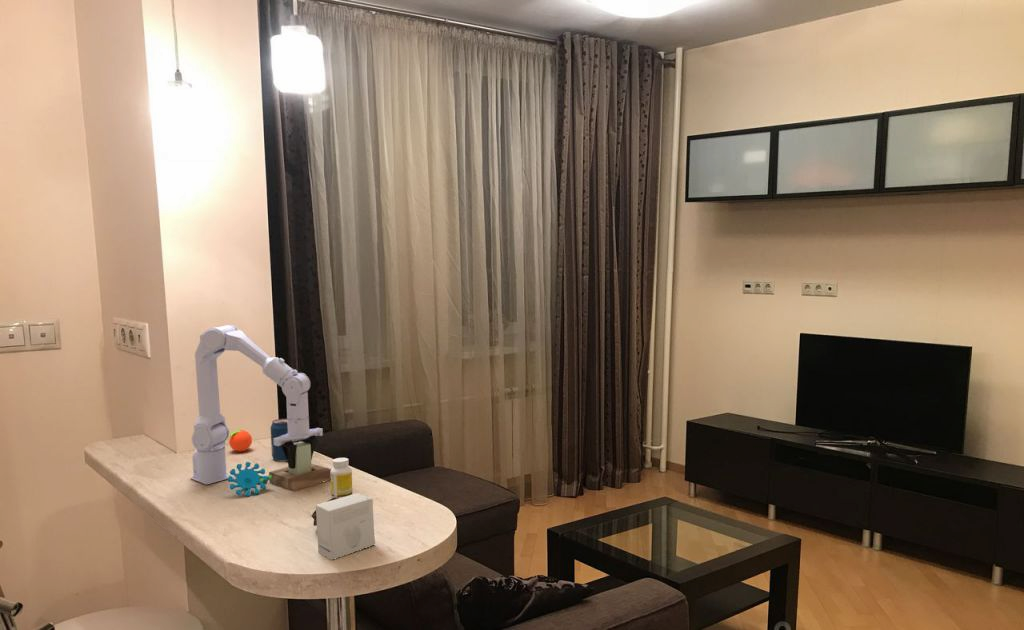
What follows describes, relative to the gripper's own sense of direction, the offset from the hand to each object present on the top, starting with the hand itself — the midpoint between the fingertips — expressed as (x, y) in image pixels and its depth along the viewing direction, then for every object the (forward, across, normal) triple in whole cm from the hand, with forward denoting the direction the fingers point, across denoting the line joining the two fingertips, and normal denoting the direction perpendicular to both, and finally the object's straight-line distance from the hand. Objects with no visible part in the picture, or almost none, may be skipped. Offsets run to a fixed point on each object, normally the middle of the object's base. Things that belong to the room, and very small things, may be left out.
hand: (299, 465), depth 196 cm
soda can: (+5, +10, +24) cm, 26 cm away
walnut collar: (+4, 0, 0) cm, 4 cm away
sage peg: (+3, 0, 0) cm, 3 cm away
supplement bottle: (+5, -1, -20) cm, 21 cm away
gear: (+5, -14, +3) cm, 15 cm away
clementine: (+5, +6, +43) cm, 44 cm away
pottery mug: (+5, -14, -37) cm, 40 cm away
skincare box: (+5, -21, -48) cm, 53 cm away
